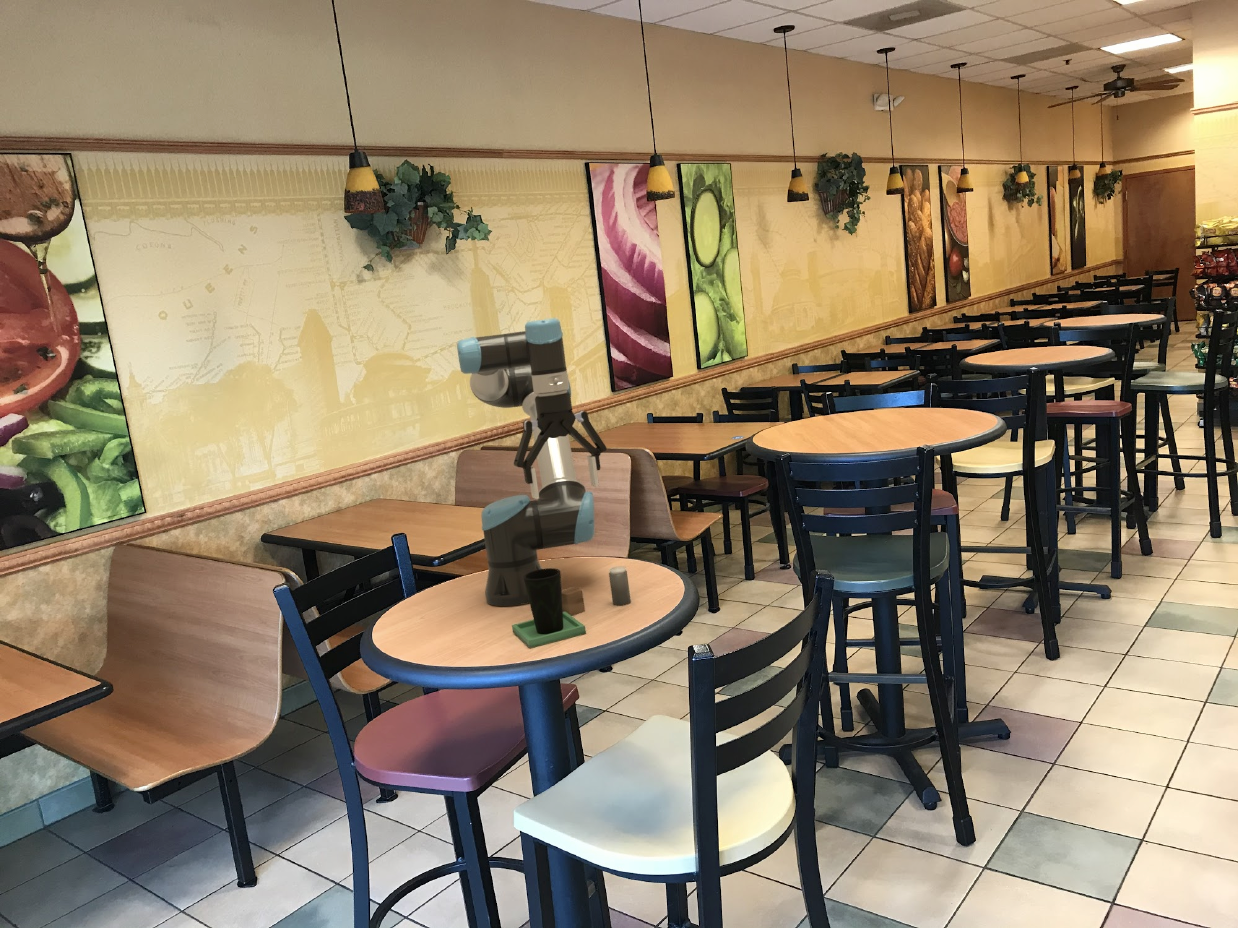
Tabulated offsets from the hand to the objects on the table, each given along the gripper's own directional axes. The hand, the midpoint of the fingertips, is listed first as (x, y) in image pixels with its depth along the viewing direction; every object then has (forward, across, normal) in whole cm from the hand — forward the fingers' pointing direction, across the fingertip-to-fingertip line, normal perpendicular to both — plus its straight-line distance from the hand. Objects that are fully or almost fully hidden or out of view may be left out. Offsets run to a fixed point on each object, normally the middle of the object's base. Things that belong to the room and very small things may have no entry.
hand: (565, 492), depth 200 cm
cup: (+26, -10, -8) cm, 29 cm away
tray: (+27, -10, -8) cm, 30 cm away
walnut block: (+27, -2, +1) cm, 27 cm away
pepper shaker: (+27, +9, -1) cm, 28 cm away
